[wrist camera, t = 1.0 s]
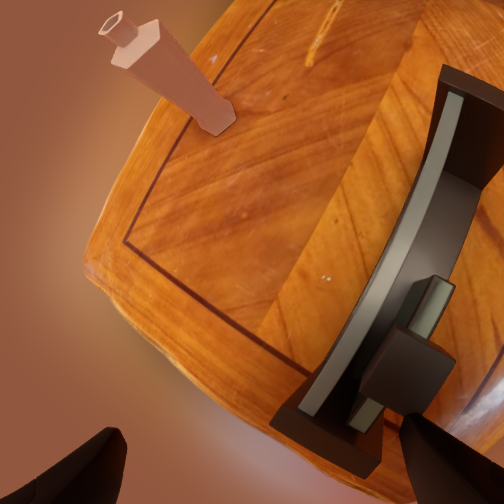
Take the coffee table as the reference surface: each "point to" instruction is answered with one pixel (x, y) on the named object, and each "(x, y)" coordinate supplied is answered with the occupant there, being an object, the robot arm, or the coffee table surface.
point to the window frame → (403, 267)
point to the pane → (406, 359)
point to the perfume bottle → (167, 70)
